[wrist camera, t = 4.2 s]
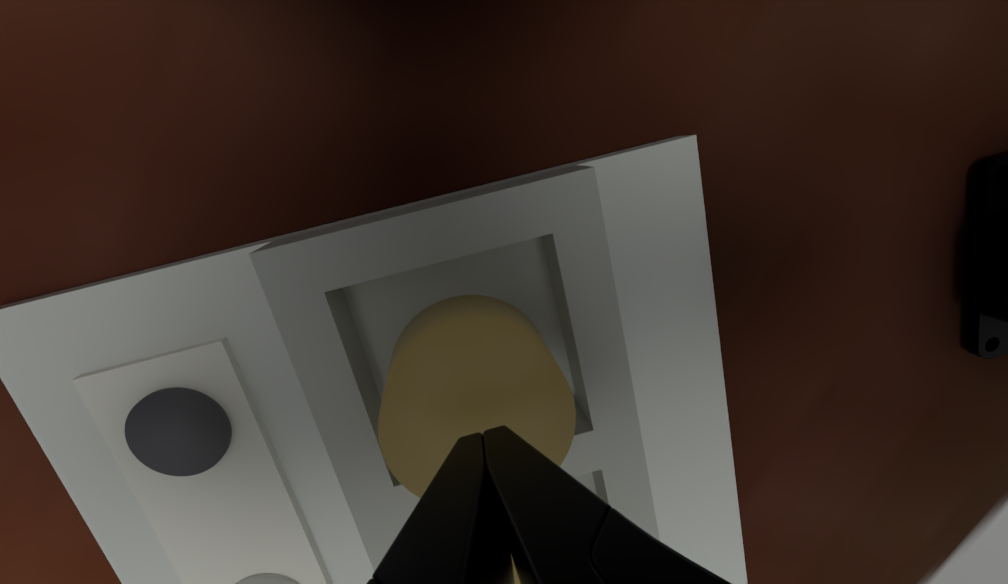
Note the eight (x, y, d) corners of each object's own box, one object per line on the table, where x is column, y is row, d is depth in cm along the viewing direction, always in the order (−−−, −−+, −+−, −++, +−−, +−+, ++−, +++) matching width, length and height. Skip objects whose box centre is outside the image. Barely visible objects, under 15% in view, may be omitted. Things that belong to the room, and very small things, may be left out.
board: (677, 135, 14) (731, 132, 11) (743, 661, 19) (788, 736, 17) (1, 305, 13) (-107, 343, 10) (284, 807, 18) (260, 910, 16)
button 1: (529, 276, 12) (554, 310, 9) (561, 416, 13) (591, 481, 10) (369, 319, 11) (350, 365, 9) (416, 457, 12) (410, 533, 10)
